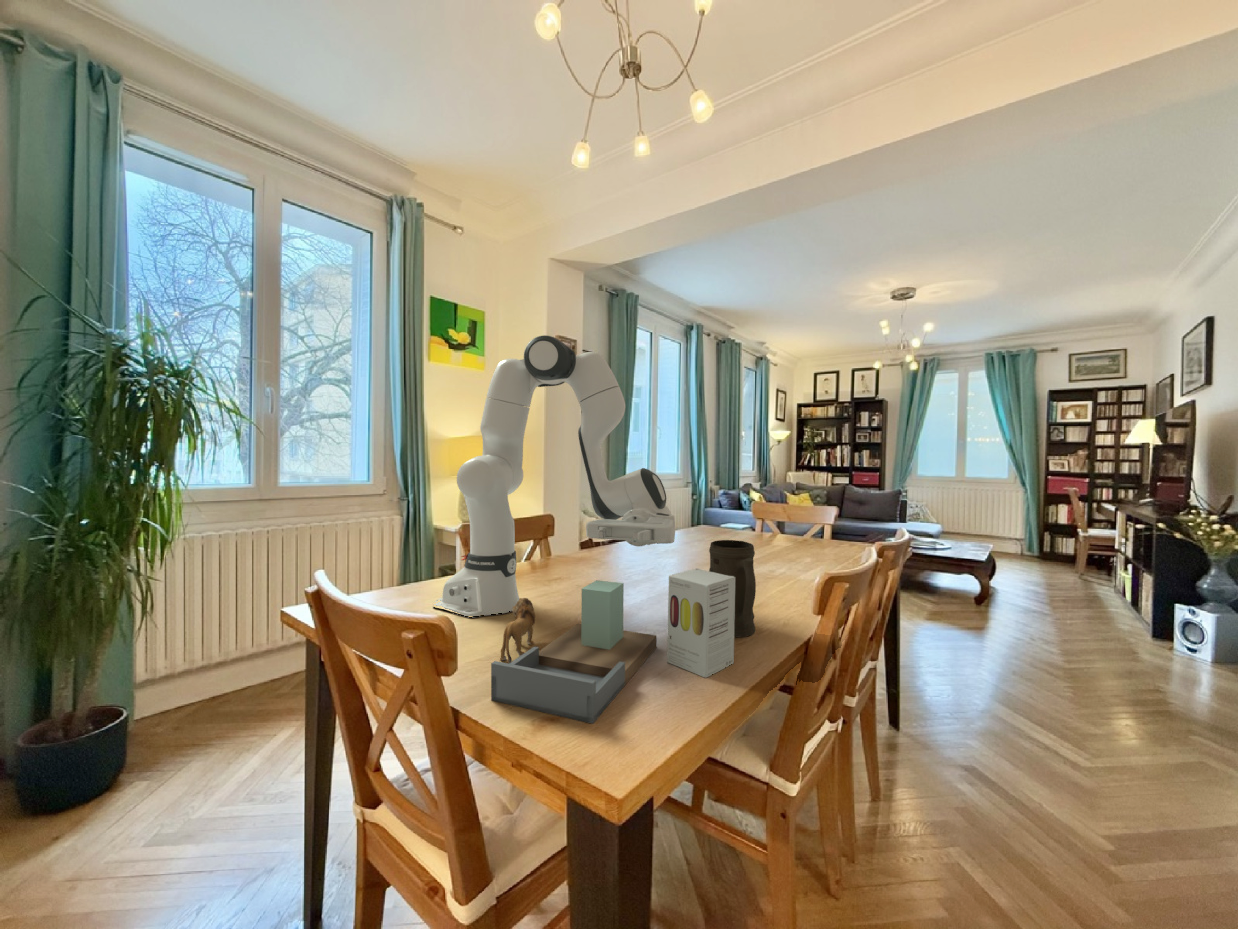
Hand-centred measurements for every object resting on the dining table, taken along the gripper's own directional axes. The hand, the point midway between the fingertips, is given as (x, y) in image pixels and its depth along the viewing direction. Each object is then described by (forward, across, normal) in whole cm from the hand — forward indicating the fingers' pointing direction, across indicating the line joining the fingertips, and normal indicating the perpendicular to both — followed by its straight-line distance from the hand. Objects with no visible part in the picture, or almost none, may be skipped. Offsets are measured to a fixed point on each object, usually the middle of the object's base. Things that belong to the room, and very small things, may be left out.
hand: (617, 536), depth 105 cm
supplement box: (+5, +19, +23) cm, 30 cm away
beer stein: (-14, +23, +23) cm, 35 cm away
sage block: (+8, 0, +20) cm, 21 cm away
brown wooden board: (+10, 0, +22) cm, 24 cm away
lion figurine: (+12, -17, +22) cm, 31 cm away
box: (+25, 0, +22) cm, 33 cm away
